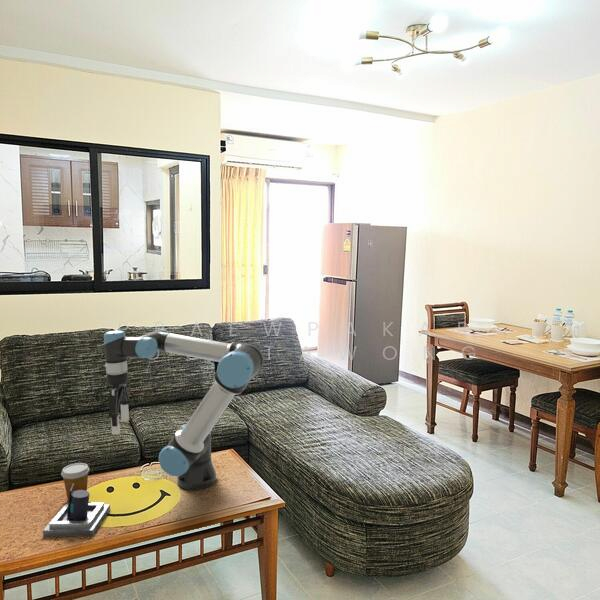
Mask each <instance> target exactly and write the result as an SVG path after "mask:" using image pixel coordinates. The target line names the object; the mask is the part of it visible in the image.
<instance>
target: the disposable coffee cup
mask: <svg viewBox="0 0 600 600" xmlns="http://www.w3.org/2000/svg"><path fill="white" fill-rule="evenodd" d="M89 471H90V467H89V466H88V464H87V463H84V462H76V463H70V464H68V465H66V466H64V467H63V468H62V471H61V473H60V475H61V477H62V478H63V483H64V489H65V492H66V498H67V503H69V495H70V489H71V487H72V484H74V489H73V492H74V491H77V490H86V491H88V479H89V478H88V477H89Z"/></svg>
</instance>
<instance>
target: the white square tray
mask: <svg viewBox="0 0 600 600" xmlns="http://www.w3.org/2000/svg"><path fill="white" fill-rule="evenodd" d="M68 504H69V502H66V504H64V505H63V506H62V507H61V509H60V510H59V511H58V512H57V513H56V515H55V516H54V517H53V518H52V519H51V520H50V521H49V523H48V524H47V525H46V526H45V528H44V529H43V530H42V535H43V537H87V536H88V537H93V536H94V535H95V533H96V532H97V530H98V529H99V527H100V526H101V524H102V523H103V521H104V520H105V518H106V516H107V515H108V514H109V512H110V510H111V505H110V504H109V503H107V504H105V502H89V503H88V512H87V516H86V517H85V518H84V519H81V520H73V519H71V518H70V517H69V519H68V520H67V514H68Z"/></svg>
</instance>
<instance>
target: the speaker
mask: <svg viewBox="0 0 600 600" xmlns="http://www.w3.org/2000/svg"><path fill="white" fill-rule="evenodd" d="M73 489H74V484H72V487H71V489H70V495H69V502H68V503H69V504H68V514H67V520H68V519H69V517H70V518H71V519H73V520H81V519H84V518H85V517H86V516H87V512H88V503H90V501H89V500H90V492H89V491H88V490H87V491H86V490H77V491H74V492H73Z"/></svg>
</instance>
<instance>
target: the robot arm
mask: <svg viewBox="0 0 600 600" xmlns="http://www.w3.org/2000/svg"><path fill="white" fill-rule="evenodd" d="M103 348H104V349H103V350H104V358H105V364H104V365H103V366H104V367H105V372H106V375H105V376H106V384H108V385H109V386H110V385H111V386H112V388H111V389H109V391H108V392H109V399H108V400H109V402H108V405H109V406H108V415H107V418H108V419H110V426H111V429H110V430H111V435H112V436H113V435H114V436H115V435H120V434H121V430H120V429H121V428H120V419H121V422H129V421H130V414H129V412H130V411H129V405H130V404H131V400H130V396H129V391H128V388H127V383H128V382H129V375H128V360H127V358H134V359H135V358H137V359H149V358H150V359H151V358H154V357H155V356H156V354H157V352H163V353H170V354H174V355H180V356H184V357H190V358H191V357H192V358H195V359H200V360H201V359H202V360H206V361H211V362H212V361H213V362H218V364H217V367H216V368H217V369H216V371H215V373H214V374H213V380H214V382H213V383H212V385H211V387H210V388H209V389H208V391H207V392H206V393H205V396H204V397H203V398H202V400H201V401H200V403H199V405H198V406H197V408H196V409H195V411H194V412H193V414H192V415H191V417H190V418H189V420H188V421H187V423H184V424H182V425H181V426H180V428H179V430H177V431H176V432H175V433H174V435H173V436H172V437H171V440H170V441H169V442H168V444H166V446H164V447H163V448H162V449H161V451H160V452H159V454H158V463H159V465H160V468H161V470H162V471H163V472H164V473H166V474H167V475H169V476H170V477H171V476H172V477H176V478H177V480H176V481H177V485H178V486H179V487H180V488H182V489H185V490H193V491H194V490H195V491H196V490H202V489H207V488H208V487H211V486H212V485H214V484H215V482H216V481H217V472H216V469H215V466H214V465H213V462H212V432H211V431H212V430H213V428H214V427H215V425H216V424H217V422H218V421H219V419H220V418H221V416H222V415H223V413H224V412H225V411H226V410H227V407H228V406H229V405H230V403H231V402H232V400H233V399H234V397H235V395H241V394H242V393H243V392H244V390H245V389H246V388H247V386H248V385H249V383H250V381H251V380H252V379H253V378H254V377H255V376H256V375H257V374H258V373H260V371H261V370H262V369H263V366H264V361H265V358H264V354H263V352H262V350H260V348H258V346H255V345H254V344H250V343H245V342H241V341H239V342H238V341H233V342H231V343H229V342H224V341H223V342H222V341H217V340H211V339H205V338H198V337H194V336H188V335H182V334H177V333H171V332H169V331H168V330H167V329H157V330H153V331H151V332H149V333H146V334H143V335H140V336H126V332H125V331H124V330H110V331H107V332H105V333H104V334H103ZM119 410H120V415H121V417H120V416H119Z"/></svg>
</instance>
